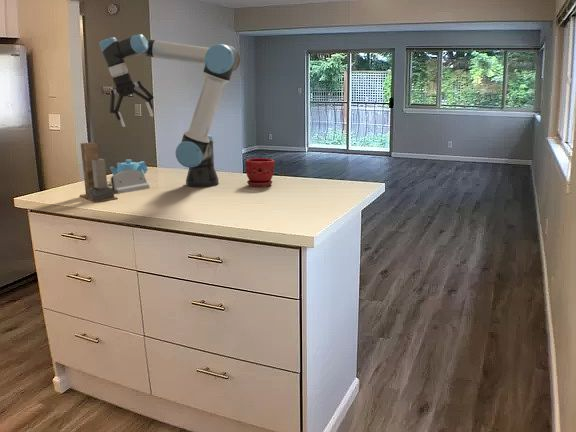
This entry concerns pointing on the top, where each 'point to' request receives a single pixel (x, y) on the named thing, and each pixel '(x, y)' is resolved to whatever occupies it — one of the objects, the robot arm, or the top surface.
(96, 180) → the grey rectangular block
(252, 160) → the plant pot
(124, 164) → the teapot
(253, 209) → the top surface
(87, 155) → the dark brown bookend
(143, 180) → the hinge
